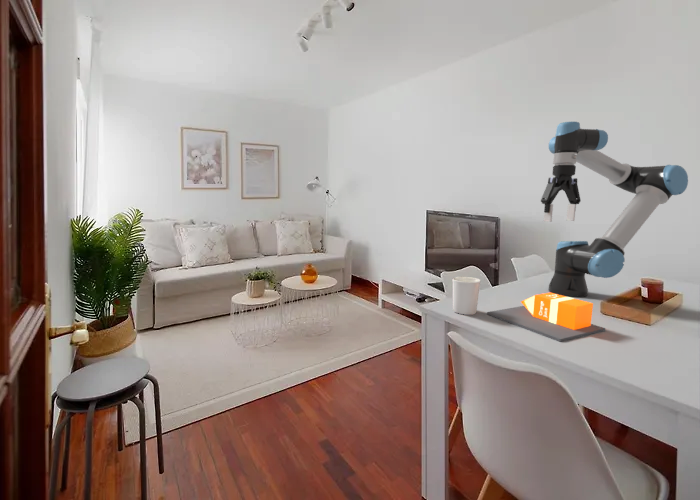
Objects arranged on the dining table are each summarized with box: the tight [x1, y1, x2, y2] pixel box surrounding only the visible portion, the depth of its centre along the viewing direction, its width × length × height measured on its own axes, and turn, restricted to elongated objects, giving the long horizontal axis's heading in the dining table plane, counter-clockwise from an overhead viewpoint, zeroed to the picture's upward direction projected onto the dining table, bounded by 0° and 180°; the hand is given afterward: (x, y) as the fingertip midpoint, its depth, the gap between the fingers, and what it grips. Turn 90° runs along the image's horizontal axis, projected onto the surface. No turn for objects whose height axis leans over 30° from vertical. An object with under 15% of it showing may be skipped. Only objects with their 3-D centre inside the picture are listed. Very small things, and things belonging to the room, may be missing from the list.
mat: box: [486, 305, 606, 343], centre depth 128 cm, size 22×28×1 cm
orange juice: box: [520, 292, 594, 330], centre depth 128 cm, size 8×9×20 cm
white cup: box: [451, 276, 482, 316], centre depth 138 cm, size 10×10×12 cm
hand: (559, 221), depth 146 cm, fingers open, 13 cm apart
